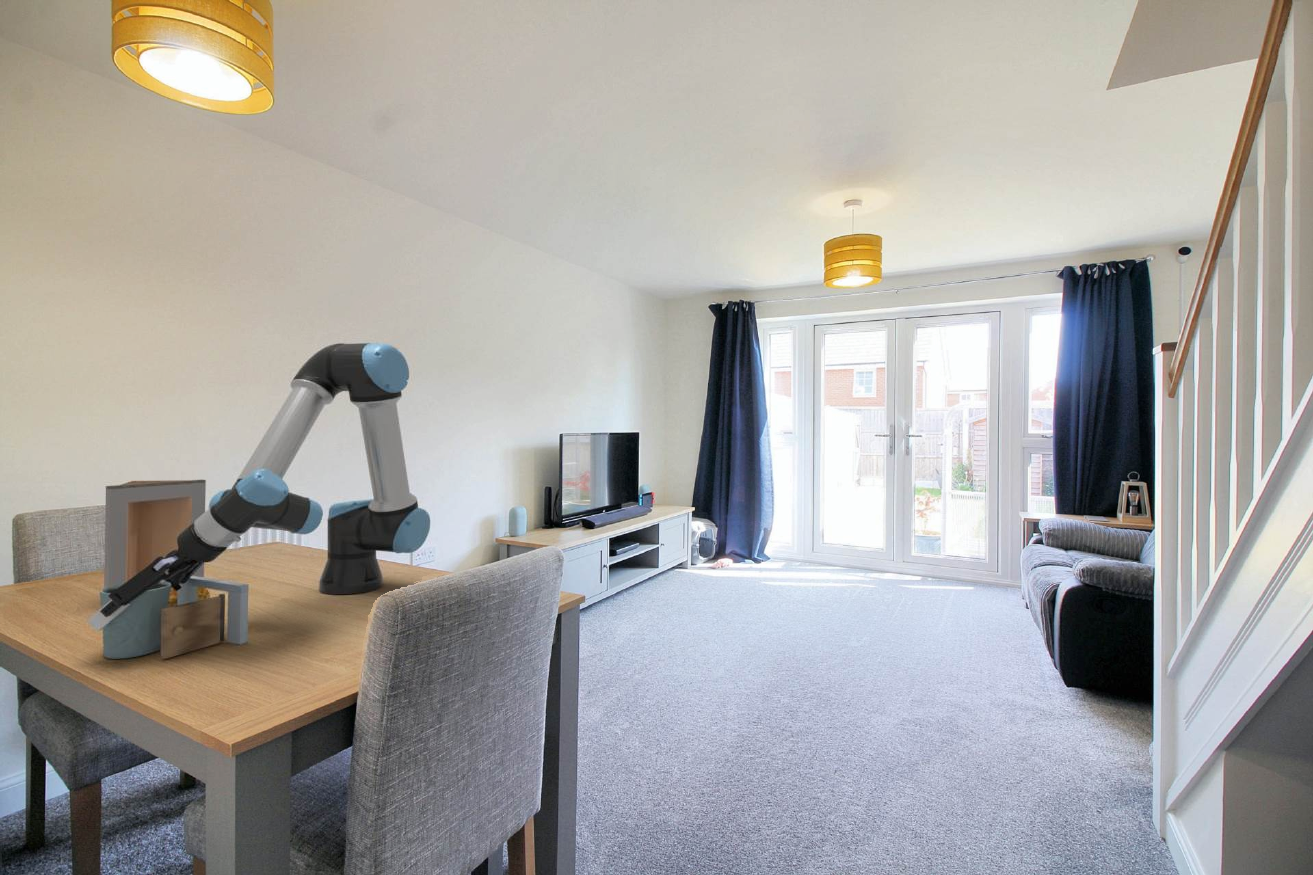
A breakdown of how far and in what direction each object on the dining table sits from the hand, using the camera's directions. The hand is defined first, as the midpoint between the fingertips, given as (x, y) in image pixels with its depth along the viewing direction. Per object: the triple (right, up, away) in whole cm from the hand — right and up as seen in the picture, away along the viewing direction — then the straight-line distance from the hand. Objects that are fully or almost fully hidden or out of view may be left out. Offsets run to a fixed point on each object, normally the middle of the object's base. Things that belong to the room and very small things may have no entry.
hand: (117, 616), depth 112 cm
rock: (-7, -6, +22) cm, 24 cm away
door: (+14, -7, +1) cm, 16 cm away
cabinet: (-25, -5, +35) cm, 43 cm away
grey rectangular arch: (+11, -7, +8) cm, 16 cm away
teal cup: (+3, -7, 0) cm, 7 cm away
